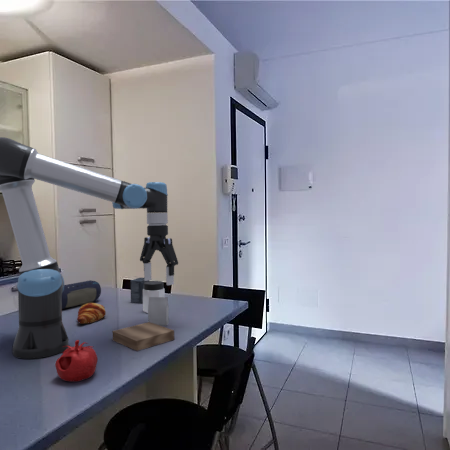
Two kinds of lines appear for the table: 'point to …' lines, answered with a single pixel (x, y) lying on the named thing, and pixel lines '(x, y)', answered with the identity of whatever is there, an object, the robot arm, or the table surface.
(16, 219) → the robot arm
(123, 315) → the table surface
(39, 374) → the table surface
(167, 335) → the pedestal
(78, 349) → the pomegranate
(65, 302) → the portable speaker
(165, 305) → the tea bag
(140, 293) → the box
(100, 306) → the croissant
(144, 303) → the jar
